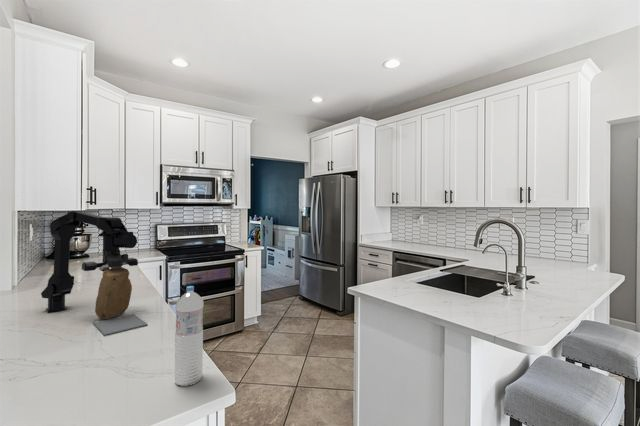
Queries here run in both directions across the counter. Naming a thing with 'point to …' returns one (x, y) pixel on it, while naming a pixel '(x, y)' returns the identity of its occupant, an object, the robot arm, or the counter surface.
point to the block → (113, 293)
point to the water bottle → (189, 338)
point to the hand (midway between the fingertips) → (110, 284)
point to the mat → (119, 324)
